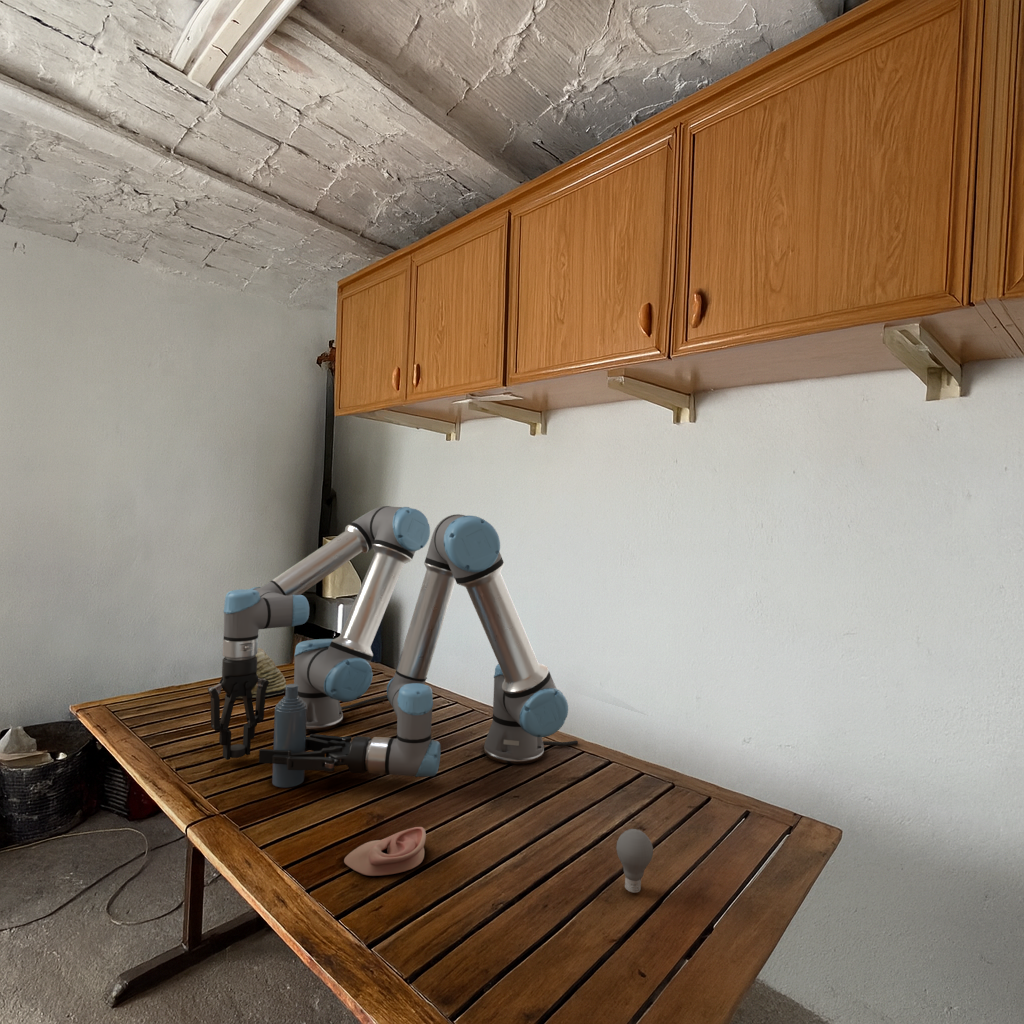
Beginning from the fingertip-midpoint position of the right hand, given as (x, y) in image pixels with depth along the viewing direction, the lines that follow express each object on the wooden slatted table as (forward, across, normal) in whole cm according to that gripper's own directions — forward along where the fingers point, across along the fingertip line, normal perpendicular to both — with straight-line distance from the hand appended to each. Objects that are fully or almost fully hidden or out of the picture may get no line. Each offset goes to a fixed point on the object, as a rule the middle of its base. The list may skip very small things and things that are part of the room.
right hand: (267, 749), depth 141 cm
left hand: (+11, +8, -5) cm, 14 cm away
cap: (+11, +8, -4) cm, 13 cm away
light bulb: (-76, -32, -7) cm, 83 cm away
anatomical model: (-33, -28, -7) cm, 44 cm away
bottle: (-5, 0, -7) cm, 8 cm away
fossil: (+28, +56, -7) cm, 63 cm away
